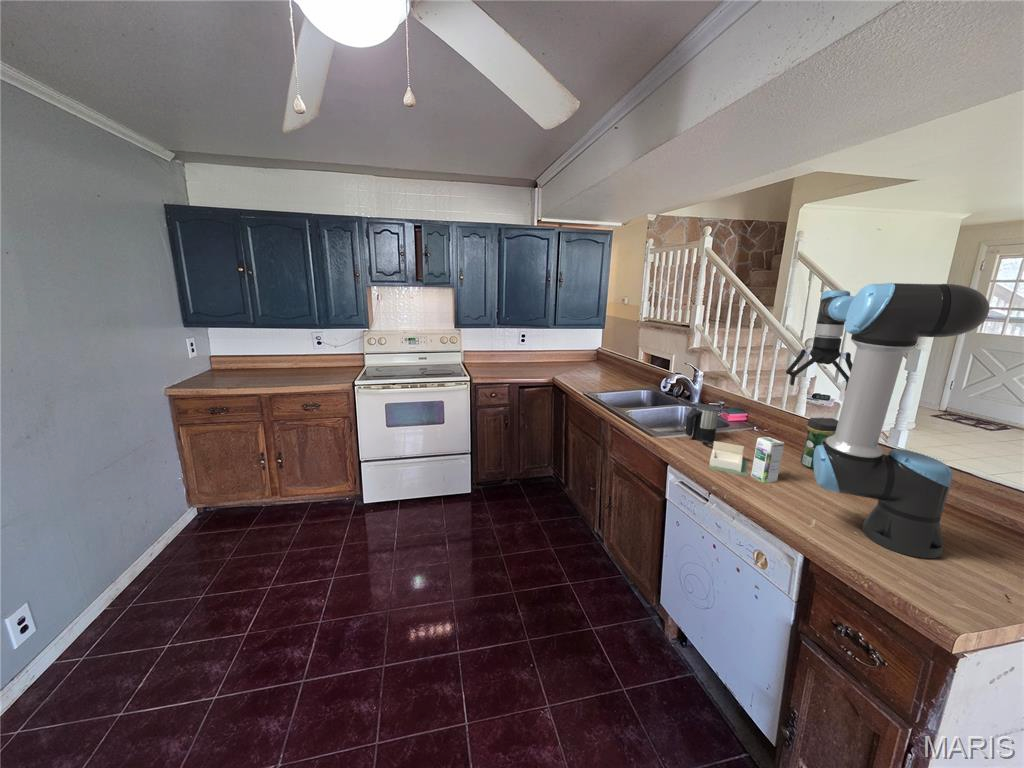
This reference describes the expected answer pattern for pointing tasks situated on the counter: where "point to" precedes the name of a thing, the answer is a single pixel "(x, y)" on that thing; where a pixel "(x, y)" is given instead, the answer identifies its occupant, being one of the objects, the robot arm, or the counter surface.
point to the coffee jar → (817, 437)
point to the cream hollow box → (726, 456)
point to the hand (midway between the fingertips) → (816, 397)
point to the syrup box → (767, 459)
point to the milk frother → (703, 423)
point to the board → (743, 471)
